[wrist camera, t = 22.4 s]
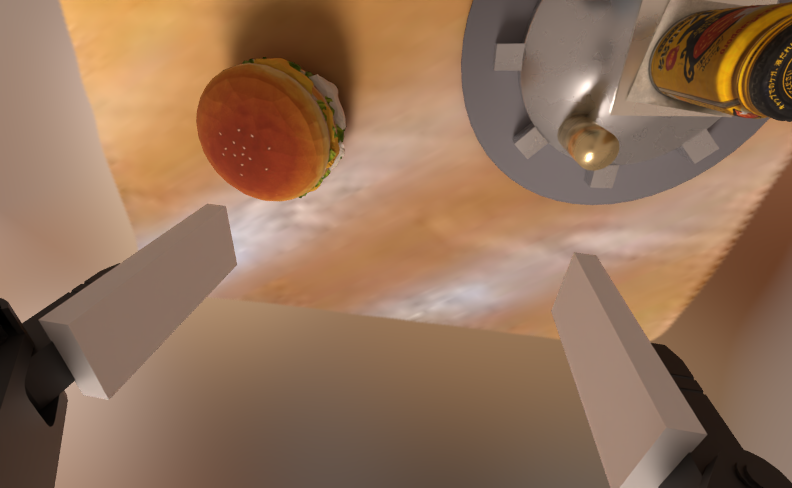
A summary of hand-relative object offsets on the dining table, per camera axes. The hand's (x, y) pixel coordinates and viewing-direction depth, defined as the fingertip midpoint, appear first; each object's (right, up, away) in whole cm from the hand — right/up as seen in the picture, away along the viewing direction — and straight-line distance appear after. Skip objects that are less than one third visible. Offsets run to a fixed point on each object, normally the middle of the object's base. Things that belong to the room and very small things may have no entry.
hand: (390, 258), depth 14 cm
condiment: (+24, +15, +14) cm, 32 cm away
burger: (-11, +14, +25) cm, 31 cm away
